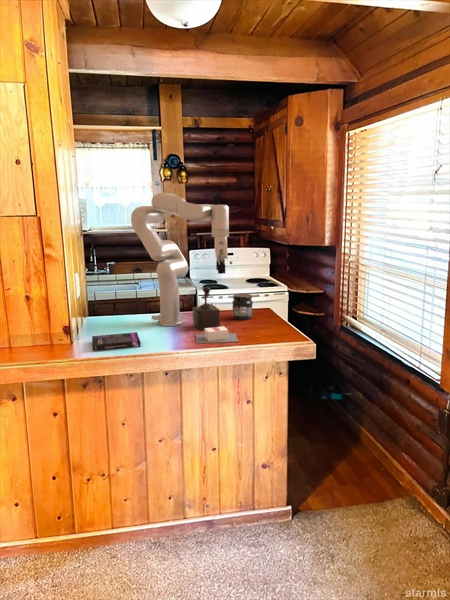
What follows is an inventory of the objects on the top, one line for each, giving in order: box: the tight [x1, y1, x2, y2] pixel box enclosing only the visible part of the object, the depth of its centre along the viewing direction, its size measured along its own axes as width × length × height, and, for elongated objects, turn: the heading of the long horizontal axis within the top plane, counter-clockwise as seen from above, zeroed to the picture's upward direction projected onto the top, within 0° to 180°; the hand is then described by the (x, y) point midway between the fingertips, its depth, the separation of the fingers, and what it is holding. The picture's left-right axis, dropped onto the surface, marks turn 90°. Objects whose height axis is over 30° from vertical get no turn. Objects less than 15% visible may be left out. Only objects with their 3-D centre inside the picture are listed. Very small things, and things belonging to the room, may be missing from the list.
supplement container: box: [231, 293, 254, 321], centre depth 229 cm, size 10×10×12 cm
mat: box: [195, 332, 239, 345], centre depth 196 cm, size 18×12×1 cm, turn 95°
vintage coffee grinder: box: [192, 286, 221, 331], centre depth 215 cm, size 16×11×18 cm
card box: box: [203, 325, 229, 341], centre depth 195 cm, size 6×9×4 cm, turn 109°
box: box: [91, 331, 141, 353], centre depth 189 cm, size 14×4×20 cm
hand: (220, 271), depth 199 cm, fingers open, 9 cm apart
